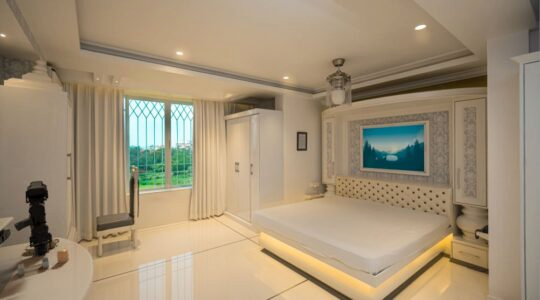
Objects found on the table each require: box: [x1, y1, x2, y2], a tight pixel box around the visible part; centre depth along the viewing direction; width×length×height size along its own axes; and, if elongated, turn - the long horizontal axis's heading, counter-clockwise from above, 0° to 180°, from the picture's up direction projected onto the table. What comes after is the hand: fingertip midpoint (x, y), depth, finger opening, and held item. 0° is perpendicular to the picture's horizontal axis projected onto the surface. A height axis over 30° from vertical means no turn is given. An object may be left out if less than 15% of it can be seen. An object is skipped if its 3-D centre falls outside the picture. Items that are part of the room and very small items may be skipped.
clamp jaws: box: [17, 256, 50, 278], centre depth 118 cm, size 6×10×4 cm, turn 137°
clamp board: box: [18, 262, 50, 280], centre depth 118 cm, size 12×10×1 cm
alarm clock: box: [23, 238, 60, 253], centre depth 144 cm, size 11×5×15 cm
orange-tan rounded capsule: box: [56, 248, 70, 264], centre depth 126 cm, size 4×4×6 cm
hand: (39, 241), depth 124 cm, fingers open, 9 cm apart
